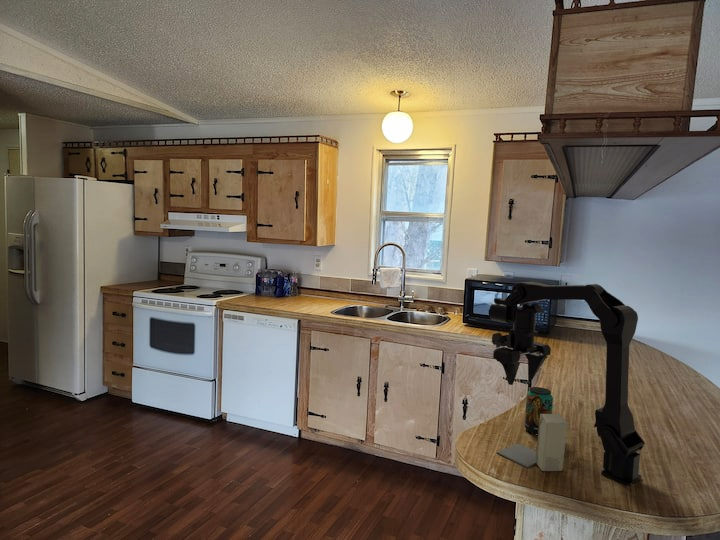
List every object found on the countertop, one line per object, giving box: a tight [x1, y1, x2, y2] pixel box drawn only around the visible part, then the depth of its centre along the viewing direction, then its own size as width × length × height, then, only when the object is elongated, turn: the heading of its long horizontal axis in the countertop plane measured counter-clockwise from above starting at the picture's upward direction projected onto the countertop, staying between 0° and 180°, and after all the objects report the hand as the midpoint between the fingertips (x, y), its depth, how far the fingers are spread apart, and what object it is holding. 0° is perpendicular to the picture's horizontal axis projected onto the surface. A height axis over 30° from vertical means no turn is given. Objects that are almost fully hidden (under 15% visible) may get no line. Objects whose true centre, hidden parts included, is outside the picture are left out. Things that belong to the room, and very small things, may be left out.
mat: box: [496, 443, 538, 469], centre depth 120 cm, size 9×9×1 cm
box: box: [535, 413, 569, 472], centre depth 113 cm, size 5×4×13 cm
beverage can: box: [524, 386, 554, 436], centre depth 136 cm, size 7×7×12 cm
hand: (520, 382), depth 133 cm, fingers open, 9 cm apart
